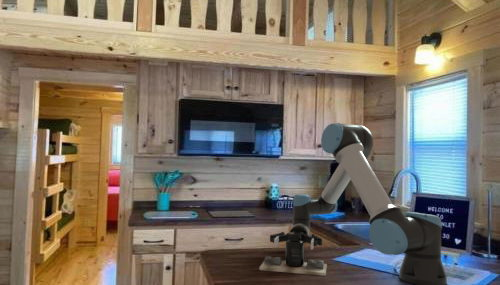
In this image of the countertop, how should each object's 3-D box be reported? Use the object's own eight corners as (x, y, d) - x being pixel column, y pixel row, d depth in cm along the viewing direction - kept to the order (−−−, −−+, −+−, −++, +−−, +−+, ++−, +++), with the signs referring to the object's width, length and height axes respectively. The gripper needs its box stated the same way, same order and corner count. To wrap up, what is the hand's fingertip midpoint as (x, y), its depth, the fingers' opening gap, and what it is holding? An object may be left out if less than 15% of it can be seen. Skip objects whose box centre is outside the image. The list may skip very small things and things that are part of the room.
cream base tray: (326, 266, 151) (326, 257, 151) (325, 275, 140) (325, 266, 140) (265, 261, 157) (265, 253, 157) (259, 269, 145) (259, 260, 145)
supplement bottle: (306, 264, 149) (307, 232, 150) (298, 268, 144) (299, 235, 144) (290, 261, 153) (290, 230, 153) (282, 265, 147) (282, 233, 148)
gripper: (329, 244, 163) (327, 257, 143) (269, 240, 169) (260, 252, 148) (329, 226, 163) (327, 236, 143) (270, 223, 169) (260, 232, 148)
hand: (293, 244), depth 145 cm, fingers open, 13 cm apart
